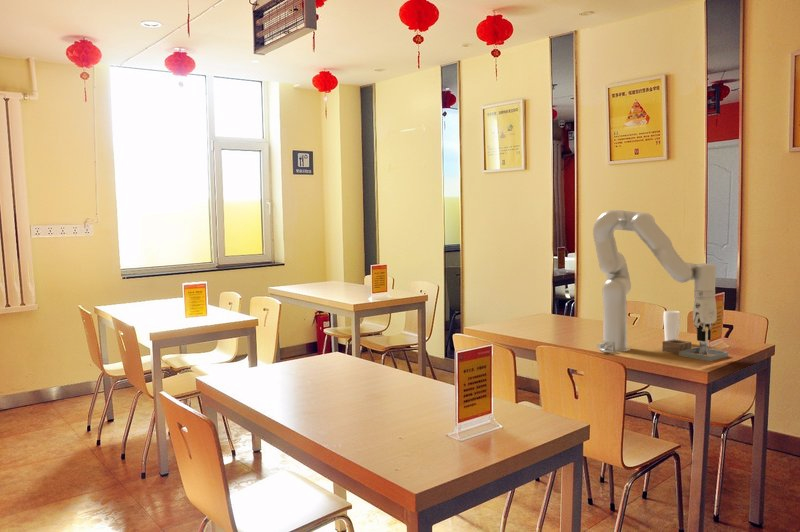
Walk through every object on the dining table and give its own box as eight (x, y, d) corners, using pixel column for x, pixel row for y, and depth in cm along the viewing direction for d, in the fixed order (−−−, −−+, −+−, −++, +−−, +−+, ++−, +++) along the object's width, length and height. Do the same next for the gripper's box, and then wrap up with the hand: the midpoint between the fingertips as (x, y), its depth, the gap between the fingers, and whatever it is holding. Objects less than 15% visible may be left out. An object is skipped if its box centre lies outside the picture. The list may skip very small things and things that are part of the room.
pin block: (680, 356, 260) (680, 344, 260) (662, 353, 267) (662, 341, 266) (691, 353, 265) (691, 342, 264) (673, 350, 271) (673, 339, 271)
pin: (705, 355, 254) (705, 326, 253) (697, 353, 257) (698, 325, 256) (709, 354, 256) (710, 325, 255) (701, 352, 259) (702, 324, 258)
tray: (710, 363, 247) (710, 356, 247) (679, 358, 258) (679, 351, 258) (727, 358, 255) (728, 351, 255) (696, 353, 266) (696, 346, 265)
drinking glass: (669, 347, 279) (670, 313, 278) (659, 344, 285) (660, 311, 284) (683, 346, 280) (683, 312, 279) (672, 343, 287) (673, 310, 286)
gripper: (702, 297, 247) (701, 344, 248) (724, 293, 256) (723, 339, 258) (684, 295, 253) (683, 341, 254) (706, 292, 262) (705, 336, 264)
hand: (703, 339), depth 256 cm, fingers closed on pin, 3 cm apart
